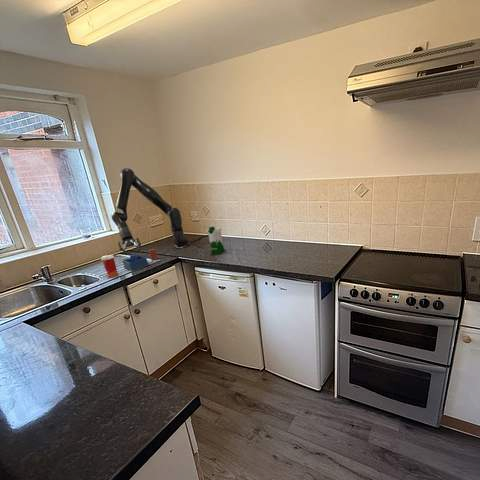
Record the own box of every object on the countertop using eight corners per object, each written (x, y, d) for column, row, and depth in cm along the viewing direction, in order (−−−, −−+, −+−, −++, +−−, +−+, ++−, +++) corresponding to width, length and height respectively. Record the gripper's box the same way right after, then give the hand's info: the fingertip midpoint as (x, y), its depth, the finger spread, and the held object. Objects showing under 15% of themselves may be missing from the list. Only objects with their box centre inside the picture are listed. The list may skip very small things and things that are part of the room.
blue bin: (141, 262, 222) (139, 255, 220) (148, 264, 214) (146, 257, 212) (124, 267, 214) (122, 260, 212) (131, 270, 206) (129, 262, 204)
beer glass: (110, 274, 203) (103, 255, 198) (121, 273, 203) (115, 253, 198) (105, 279, 196) (98, 258, 190) (116, 277, 196) (110, 257, 191)
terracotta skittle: (156, 258, 229) (153, 248, 226) (158, 259, 226) (156, 249, 223) (150, 260, 226) (147, 249, 223) (153, 260, 223) (150, 250, 220)
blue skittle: (137, 264, 217) (134, 253, 214) (140, 265, 214) (137, 254, 211) (131, 266, 214) (128, 255, 211) (134, 267, 211) (131, 256, 208)
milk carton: (210, 254, 222) (204, 228, 214) (217, 250, 229) (212, 225, 222) (219, 254, 218) (214, 228, 211) (226, 251, 225) (221, 225, 218)
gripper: (114, 233, 211) (121, 252, 206) (135, 229, 218) (142, 247, 212) (116, 239, 217) (122, 257, 212) (136, 235, 224) (143, 252, 219)
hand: (132, 252), depth 212 cm, fingers open, 8 cm apart
